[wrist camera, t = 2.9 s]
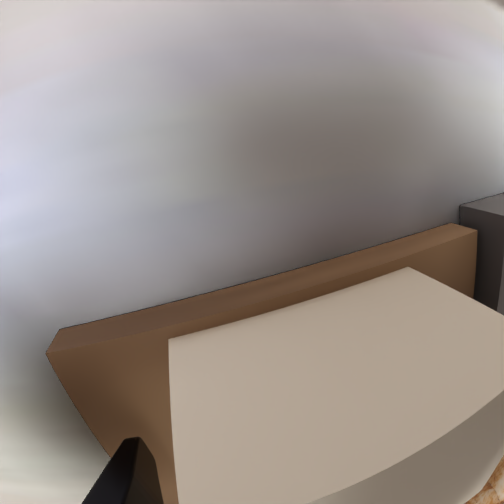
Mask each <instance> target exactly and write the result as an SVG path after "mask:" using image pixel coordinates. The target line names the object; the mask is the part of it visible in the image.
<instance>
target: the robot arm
mask: <svg viewBox="0 0 504 504" xmlns="http://www.w3.org/2000/svg"><path fill="white" fill-rule="evenodd" d="M82 504H164V502H163V497H162V492H161V487H160V482H159V477H158V472H157V466H156V462H155V459H154V456H153V455H152V453H151V452H150V450H149V448H148V447H147V445H146V444H145V442H144V441H143V439H142V438H141V437H138V436H137V437H131V438H126V439H124V440H123V441H122V443H121V444H120V446H119V447H118V449H117V450H116V452H115V453H114V455H113V456H112V458H111V460H110V461H109V463H108V464H107V466H106V467H105V469H104V470H103V472H102V473H101V475H100V476H99V478H98V479H97V481H96V482H95V484H94V486H93V487H92V489H91V490H90V492H89V493H88V495H87V496H86V498H85V499H84V501H83V502H82Z"/></svg>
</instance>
